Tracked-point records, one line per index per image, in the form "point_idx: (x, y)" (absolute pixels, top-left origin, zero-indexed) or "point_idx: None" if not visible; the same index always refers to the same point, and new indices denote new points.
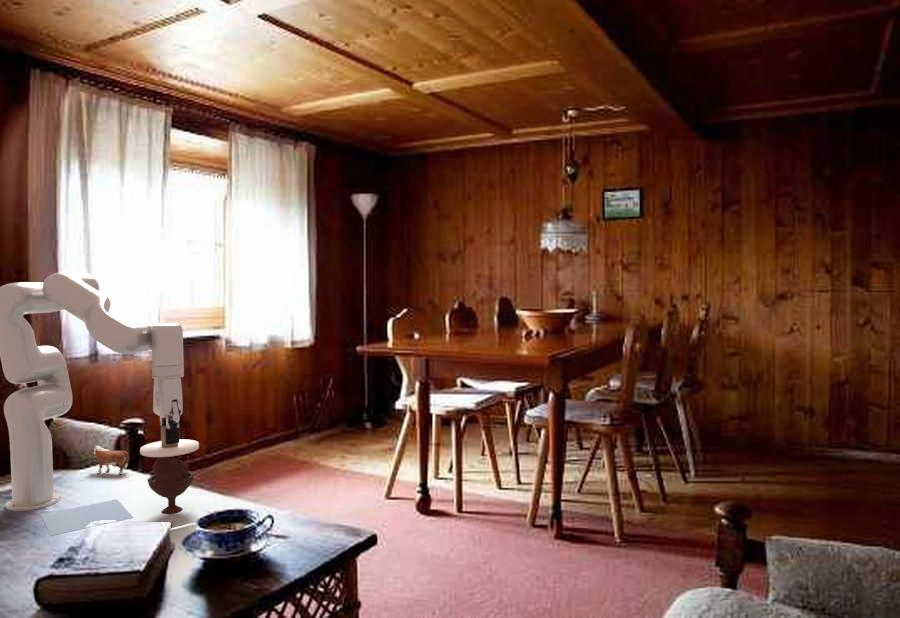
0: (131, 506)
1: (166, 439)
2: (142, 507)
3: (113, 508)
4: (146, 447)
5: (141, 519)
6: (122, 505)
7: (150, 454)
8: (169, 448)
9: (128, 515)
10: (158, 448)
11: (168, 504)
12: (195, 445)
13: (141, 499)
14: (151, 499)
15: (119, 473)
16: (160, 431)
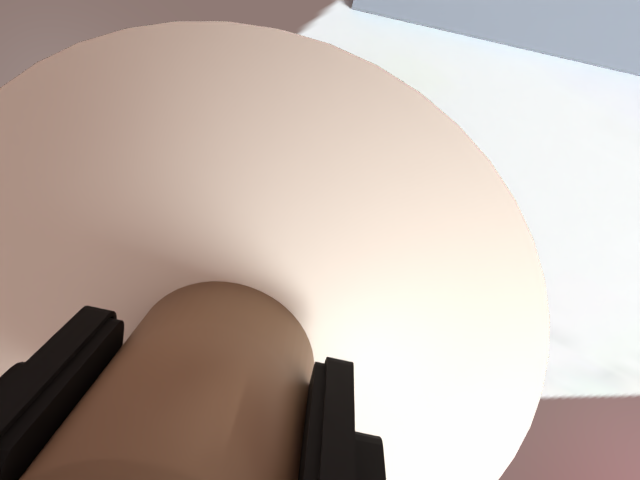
0: (552, 100)
1: (55, 338)
2: (486, 129)
3: (586, 4)
4: (384, 164)
5: (321, 37)
6: (586, 61)
7: (65, 51)
8: (113, 305)
9: (403, 4)
10: (207, 230)
11: None
12: None
13: (605, 186)
14: (558, 216)
15: None
16: (345, 446)
